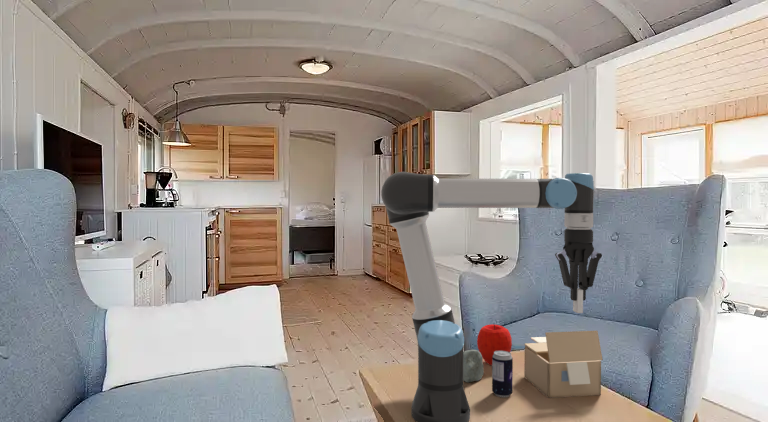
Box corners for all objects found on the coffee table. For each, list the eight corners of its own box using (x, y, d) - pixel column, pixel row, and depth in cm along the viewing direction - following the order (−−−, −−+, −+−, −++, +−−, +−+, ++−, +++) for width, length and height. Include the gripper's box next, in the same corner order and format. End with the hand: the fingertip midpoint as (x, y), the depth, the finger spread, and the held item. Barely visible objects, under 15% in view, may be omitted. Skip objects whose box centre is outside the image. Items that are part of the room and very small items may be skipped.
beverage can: (512, 399, 136) (513, 356, 136) (492, 397, 137) (492, 355, 137) (511, 391, 142) (512, 350, 141) (491, 389, 143) (492, 349, 142)
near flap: (552, 385, 134) (553, 385, 134) (545, 332, 139) (545, 332, 138) (605, 382, 137) (606, 382, 136) (596, 330, 141) (597, 330, 141)
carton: (548, 398, 137) (548, 363, 137) (524, 377, 153) (524, 346, 153) (600, 395, 139) (601, 361, 139) (571, 374, 155) (572, 344, 155)
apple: (518, 368, 161) (519, 328, 160) (486, 371, 158) (486, 330, 158) (502, 357, 172) (502, 319, 172) (471, 359, 170) (471, 321, 169)
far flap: (536, 353, 145) (536, 351, 145) (516, 339, 159) (516, 337, 159) (585, 351, 147) (585, 349, 147) (561, 337, 161) (561, 336, 161)
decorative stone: (490, 385, 146) (492, 353, 152) (458, 374, 144) (462, 342, 150) (469, 392, 157) (471, 362, 162) (439, 382, 154) (443, 352, 160)
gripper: (562, 229, 131) (562, 315, 132) (608, 229, 133) (607, 314, 133) (550, 227, 139) (549, 309, 140) (593, 227, 140) (592, 308, 141)
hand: (577, 311), depth 136 cm, fingers closed
